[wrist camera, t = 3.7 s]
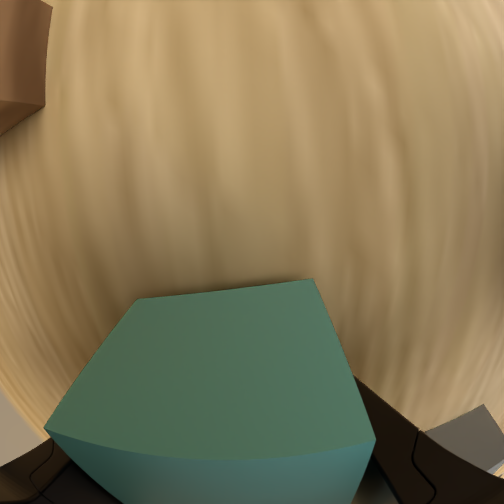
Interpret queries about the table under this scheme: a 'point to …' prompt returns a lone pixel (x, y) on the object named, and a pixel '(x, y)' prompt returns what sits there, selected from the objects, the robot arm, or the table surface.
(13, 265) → the table surface
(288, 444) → the teal block
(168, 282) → the table surface
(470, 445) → the slate block
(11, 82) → the walnut block
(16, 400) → the table surface
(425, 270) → the table surface
